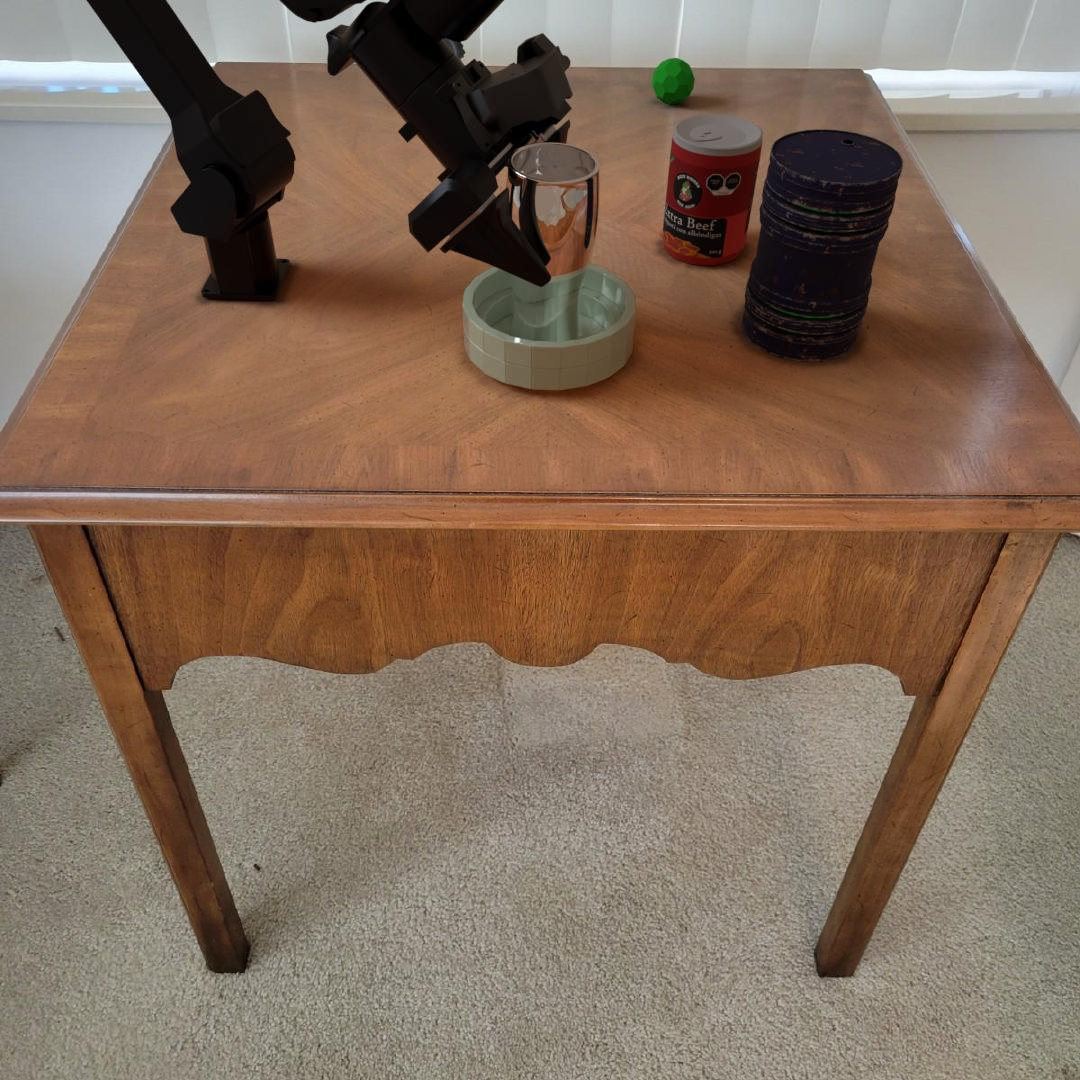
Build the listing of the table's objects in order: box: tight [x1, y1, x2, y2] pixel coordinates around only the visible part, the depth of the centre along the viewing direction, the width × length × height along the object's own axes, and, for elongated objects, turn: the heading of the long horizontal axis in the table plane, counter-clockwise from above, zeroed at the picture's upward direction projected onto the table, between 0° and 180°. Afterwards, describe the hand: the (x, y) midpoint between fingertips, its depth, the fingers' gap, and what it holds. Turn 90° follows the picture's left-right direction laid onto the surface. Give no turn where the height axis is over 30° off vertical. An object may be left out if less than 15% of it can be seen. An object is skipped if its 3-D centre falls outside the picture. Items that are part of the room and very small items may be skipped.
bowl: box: [461, 262, 637, 391], centre depth 82 cm, size 14×14×4 cm
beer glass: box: [505, 142, 601, 342], centre depth 78 cm, size 7×7×15 cm
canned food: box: [661, 113, 764, 266], centre depth 92 cm, size 8×8×11 cm
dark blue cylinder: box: [740, 128, 904, 363], centre depth 81 cm, size 10×10×15 cm
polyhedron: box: [651, 57, 696, 106], centre depth 120 cm, size 5×5×5 cm
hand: (567, 254), depth 77 cm, fingers open, 9 cm apart
